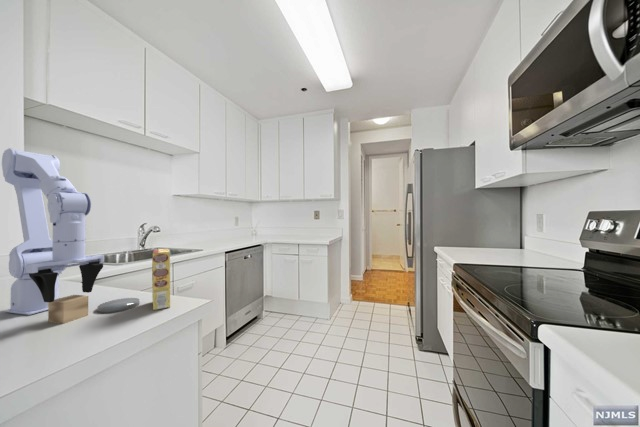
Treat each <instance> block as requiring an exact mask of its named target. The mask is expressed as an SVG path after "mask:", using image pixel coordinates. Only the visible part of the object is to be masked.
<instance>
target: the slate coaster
mask: <svg viewBox="0 0 640 427" xmlns="http://www.w3.org/2000/svg"><path fill="white" fill-rule="evenodd" d="M139 305H140V299H139V298H137V297H124V298H117V299H113V300H108V301H106V302H103V303H100V304H99V305H97V310H96V311H97V312H98V313H100V314H110V313H119V312H122V311H128V310H130V309H133V308H135V307H137V306H139Z"/></svg>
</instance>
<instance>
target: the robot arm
mask: <svg viewBox="0 0 640 427" xmlns="http://www.w3.org/2000/svg"><path fill="white" fill-rule="evenodd" d="M1 157H2V158H1V169H2V176H3V177H4V182H6V183H8V184H10V185H11V186H13V187H14V190H15V194H16V198H17V199H16V200H17V206H18V211H19V217H20V224H21V231H22V232H21V233H22V237H23V242H21V243H20V244H17V245H16V246H14V247H13V248H11V250H10V252H9V254H8V257H9V258H8V259H9V261H8V271H9V273H10V275H11V277H13V278H14V279H16V280H14V282H13V283H12V284H11V285H10V286H11V287H10V308H8V309H6V310H5V312H4V313H12V314H18V315H29V316H31V315H34V314H37V313H41V312H45V311H48V303H50V302H54V300H55V299H59V298H60V297H59V296H60V292H59V291H60V289H59V288H60V275H61V274H63V272H64V271H65V270H66V269H67V268H71V267H77V266H78V267H79V270H80V274H81V290H82V292H83V293H87V294H88V293H91V292H92V291H93V287H94V285H95V282H96V279H97V278H98V275H99V273H100V272H101V271H102V269H103V268H104V262H105V255H104V254H92V255H86V245H87V244H86V240H87V239H86V235H87V234H86V233H87V232H86V230H87V229H86V225H87V224H86V222H87V221H86V220H87V219H86V216H88V215H89V213H90V212H91V208H92V201H91V197H90V195H89V194H88V193H87V192H82V191H81V192H80V191H78V190H77V189H76V187H75V186H74V185H73V183H72V182H71V181H70V180H69V179H68V178H67V177H66V176H64V175H63V176H62V175H60V168H61V162H60V159H59V158H58V157H57V156H56V155H50V154H43V153H39V152H38V153H36V152H31V151H27V150H26V151H25V150H18V149H14V148H11V147H10V148H9V147H8V148H7V149H5V150H4V151H3V153H2V156H1ZM43 195H44V196H45V197H46V199H47V211H48V213H49V221H50V223H52V238H51V237H50V231H49V230H50V229H49V226H48V225H49V224H48V219H47V214H46V208H45V203H44V196H43Z"/></svg>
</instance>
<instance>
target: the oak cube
mask: <svg viewBox="0 0 640 427" xmlns="http://www.w3.org/2000/svg"><path fill="white" fill-rule="evenodd" d="M47 313H48V315H47V316H48V318H47V319H48V323H52V324H54V323H55V324H61V325H62V324H63V325H64V324H68V323H71V322H73V321H76V320H79V319H82V318H85V317H88V316H89V295H82V294H81V295H80V294H72V295H71V294H70V295H67V296H64V297H59V299H55V300H54V302H50V303H48V310H47Z"/></svg>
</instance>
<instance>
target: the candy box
mask: <svg viewBox="0 0 640 427" xmlns="http://www.w3.org/2000/svg"><path fill="white" fill-rule="evenodd" d="M170 254H171V253H170V249H169V248H159V249H153V250H152V258H151V259H152V265H151V266H152V268H151V270H152V272H151V274H152V278H151V281H152V284H151V285H152V310H153V311H157V310H161V309H167V308H171V257H170V256H171V255H170Z"/></svg>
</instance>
